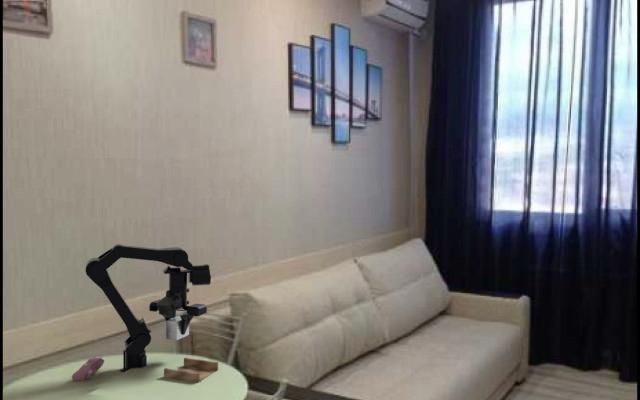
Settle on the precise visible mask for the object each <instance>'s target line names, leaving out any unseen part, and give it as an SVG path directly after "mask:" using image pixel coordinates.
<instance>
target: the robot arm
mask: <svg viewBox="0 0 640 400" xmlns="http://www.w3.org/2000/svg"><path fill="white" fill-rule="evenodd" d="M120 259H131V260H143V261H152V262H159V263H162V264H165V265H167V266H166V267H165V268H164V269H163V270H162V272H163V274H165V275H168V290H167V289H166V291H165V296H164V297H162V299H157V300H153V301H151V302H150V304H149V305H148V311H149V312H158V314H159V316H162V317H163V318H164V319H165V321H166V320H169V319H171V318H174V317H177V316H176V312H183V314H181V315H179V316H180V317H181V319H182V335H184V334H185V332H186V330H187V328H188V326H189V327H190V323H191V321H192V320H193V318H194V317H200V316H202V315H204V314H207V313H208V308H207V306H206V304H203V303H193V304H191V305H190V300H188V293H189V292H190V288H188V283H189V284H190V283H191V285H192V286H194V287H195V286H196V287H197V286H210V285H211V281H212V280H211V279H212V275H211V271H210V265H209V264H207V263H205V264H197V265H196V264H195V265H194V264H193V263H192V262H191V261H190V260H189V255H188V253H187V251H185V249H183V248H181V247H178V246H177V247H176V246H175V247H165V248H153V247H152V248H151V247H145V246H144V247H143V246H134V245H123V244H121V243H118V244H114V245H113V247H111V248H110V249H108V250H106V251H105V252H104V253H102V254H100V255H99V256H98V257H92V258H90V259H89V260H88V261H87V262H86V264H85V273H86V276H87V277H88V278H89V279H90V280H91V281H92V282H93V283H94V284H95V285H97V287H99V288H100V289H101V290H102V292H103V293H104V295H105V296H106V297H107V299H108V301H109V303H110V305H112V306H113V308H114V310H115V311H116V313H117V315H118V316H119V317H120V319H121V321H122V322H123V323H124V325H125V327H126V329H127V332H128V334H129V336H128V337H127V338H126V339H125V341H123V342H124V350H123V352H122V354H123V355H122V357H123V358H122V360H123V361H122V362H123V367H122V368H120V369H119V371H120V372H124V373H125V372H127V371H129V370H131V369H143V368H145V367H146V366H147V361H148V360H147V359H148V358H147V357H148V356H147V354H146V351H147V350H146V347H148V345H150V343H151V340H152V336H151V333H152V330H151V327H150V326H149V325H148V324H147V323H146V320H145V318H144V317H142V318H141V319H139V318H138V317H137V316H136V315H135V313H134V312H133V311H132V309H131V308H130V306H129V305H128V303H127V302H126V301H125V299H124V298H123V296H122V294H121V293H120V291H119V289H118V288H117V287H116V285H115V284H114V282H113V280H112V278H111V276H110V273H109V271H108V269H109V268H110V267H112V266H113V265H114V264H115V263H116V262H117V261H119V260H120ZM170 266H172V267H170ZM181 268H183V269H181Z"/></svg>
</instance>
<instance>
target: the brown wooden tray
mask: <svg viewBox="0 0 640 400" xmlns="http://www.w3.org/2000/svg"><path fill="white" fill-rule="evenodd" d="M218 371H219V362H218V361H213V360H212V361H211V360H206V359H197V358H190V357H183V365H182V366H181V367H179V368H178V369H175V368H174V369H173V368H163V379H170V380H177V381H182V382H183V381H185V382H189V383H190V382H191V383H200V382H202V381H203V380H205V379H207V378H208V377H210V376H212V375H213V374H214V373H217V372H218Z"/></svg>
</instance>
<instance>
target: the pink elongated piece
mask: <svg viewBox="0 0 640 400" xmlns="http://www.w3.org/2000/svg"><path fill="white" fill-rule="evenodd" d="M104 363H105V359H103V358H102V357H99V356H96V357H91V358H88V360H86V362H84V363H83V364H82V365H81V367H80V368H79V369H77V370H76V371H74V373H73V374H72V375H71V380H72V381H74V382H78V381H80V380H82V379H86V380H87V379H89V378H90V377H91V376H95V375H96V374H97V373H98V371H99V370H100V368H101V367H102V366H103V365H104Z"/></svg>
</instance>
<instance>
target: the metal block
mask: <svg viewBox="0 0 640 400" xmlns="http://www.w3.org/2000/svg"><path fill="white" fill-rule="evenodd" d="M165 321H166V322H165V323H166V325H165V327H166V328H165V329H166V330H165V331H166V332H165V338H166V340H172V341H178V340H180V339H183V338H185V337H187V336H189V335H190V325H189V326H188V328H187V330H186V332H185V334H184V335H182V319H181V317H180V315H177V316H175V317H174V318H171V319H169V320H165Z"/></svg>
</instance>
